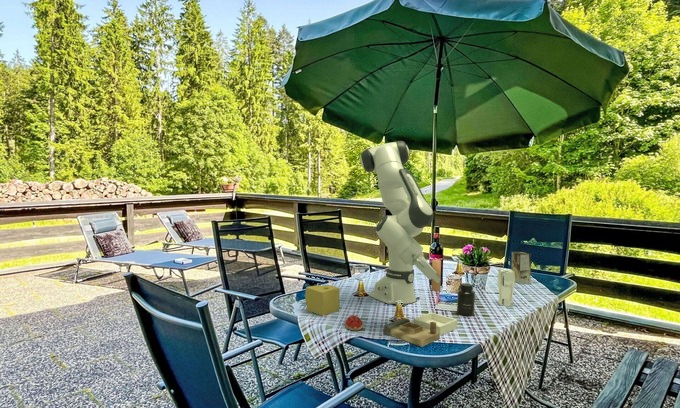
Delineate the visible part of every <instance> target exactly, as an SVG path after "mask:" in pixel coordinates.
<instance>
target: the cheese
mask: <svg viewBox="0 0 680 408" xmlns="http://www.w3.org/2000/svg"><path fill="white" fill-rule="evenodd" d="M304 296H305V298H304V299H305V304H306V305H305V307H306V311H307V312H309V311H310V312H309V313H312V312H314V313H313V314H315V313H316V315H318V314H319V316H321V315H322V317H324V316H327V315H329V314H333V313H337V312H339V311H340V297H341V296H340V287H337V286H334V285H330V284H327V285H320V284H319V285H318V284H317V285H310V286H306V288H305V295H304ZM323 315H324V316H323Z"/></svg>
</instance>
